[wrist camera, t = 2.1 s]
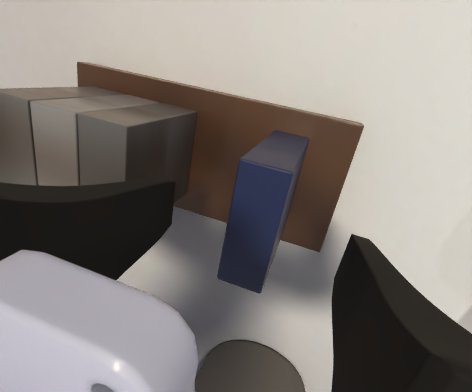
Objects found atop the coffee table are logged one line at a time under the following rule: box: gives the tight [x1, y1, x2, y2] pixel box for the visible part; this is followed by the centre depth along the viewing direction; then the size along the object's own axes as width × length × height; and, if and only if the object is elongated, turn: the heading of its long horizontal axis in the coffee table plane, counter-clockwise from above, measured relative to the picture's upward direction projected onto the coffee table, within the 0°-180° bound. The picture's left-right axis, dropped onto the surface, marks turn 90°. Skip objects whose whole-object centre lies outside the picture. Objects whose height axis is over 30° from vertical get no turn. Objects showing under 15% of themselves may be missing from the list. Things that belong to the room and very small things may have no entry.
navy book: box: [217, 130, 309, 293], centre depth 15 cm, size 6×2×7 cm, turn 169°
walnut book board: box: [0, 62, 364, 252], centre depth 16 cm, size 8×18×9 cm, turn 79°
